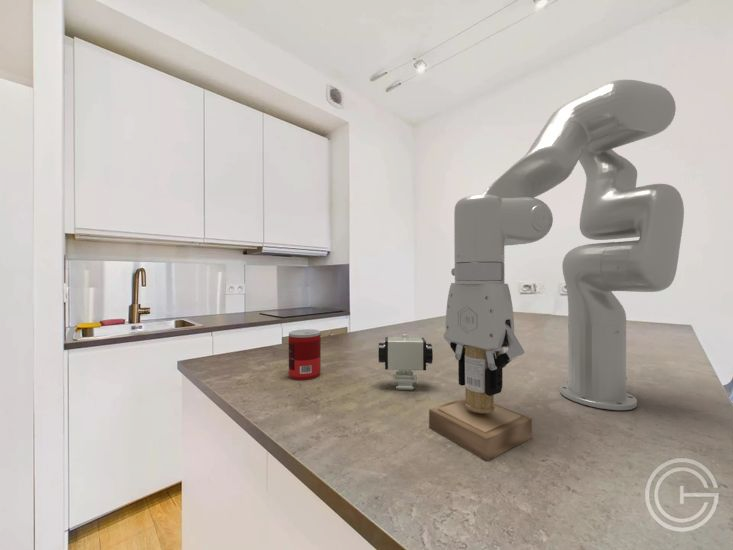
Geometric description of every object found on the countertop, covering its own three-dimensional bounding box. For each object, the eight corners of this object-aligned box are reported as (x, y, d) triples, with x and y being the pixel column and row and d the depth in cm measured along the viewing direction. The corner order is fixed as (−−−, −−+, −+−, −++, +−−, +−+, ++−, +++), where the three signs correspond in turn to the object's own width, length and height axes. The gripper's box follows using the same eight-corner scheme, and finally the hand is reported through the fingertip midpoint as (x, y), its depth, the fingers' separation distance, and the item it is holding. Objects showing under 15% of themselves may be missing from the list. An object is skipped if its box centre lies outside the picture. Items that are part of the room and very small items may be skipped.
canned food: (326, 373, 79) (326, 330, 79) (304, 382, 72) (304, 336, 72) (304, 368, 83) (304, 328, 83) (282, 377, 76) (282, 332, 76)
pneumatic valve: (432, 392, 66) (432, 336, 66) (378, 391, 67) (378, 335, 67) (429, 383, 72) (429, 332, 72) (379, 382, 73) (379, 331, 73)
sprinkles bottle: (501, 411, 48) (500, 325, 48) (479, 416, 46) (478, 327, 46) (479, 400, 52) (478, 321, 53) (458, 405, 51) (457, 323, 51)
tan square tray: (472, 411, 57) (472, 394, 57) (531, 438, 48) (531, 417, 48) (429, 427, 51) (429, 407, 51) (486, 461, 42) (486, 437, 42)
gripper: (424, 274, 55) (425, 378, 55) (514, 274, 40) (515, 414, 40) (454, 274, 59) (454, 370, 59) (545, 274, 44) (545, 401, 44)
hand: (479, 387), depth 49 cm, fingers closed on sprinkles bottle, 4 cm apart
